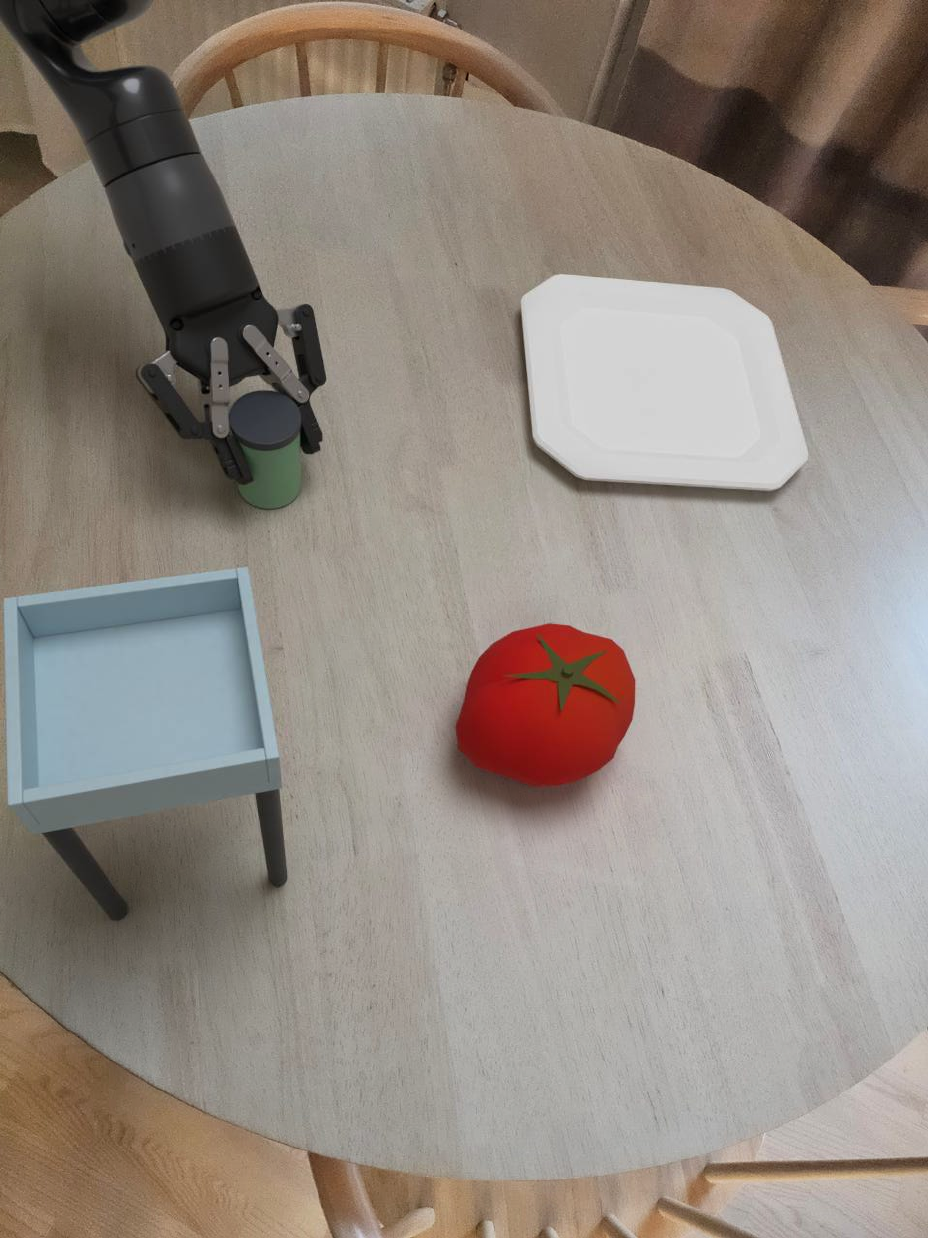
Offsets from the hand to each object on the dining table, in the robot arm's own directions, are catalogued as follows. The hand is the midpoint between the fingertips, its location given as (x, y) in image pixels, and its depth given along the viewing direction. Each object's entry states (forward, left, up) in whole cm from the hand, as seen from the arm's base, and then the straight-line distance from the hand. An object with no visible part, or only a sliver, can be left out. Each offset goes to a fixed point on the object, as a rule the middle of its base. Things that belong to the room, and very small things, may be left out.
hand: (279, 466), depth 72 cm
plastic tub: (-1, +2, -4) cm, 5 cm away
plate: (+35, +8, -4) cm, 36 cm away
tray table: (-10, -25, -4) cm, 27 cm away
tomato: (+14, -23, -4) cm, 28 cm away
